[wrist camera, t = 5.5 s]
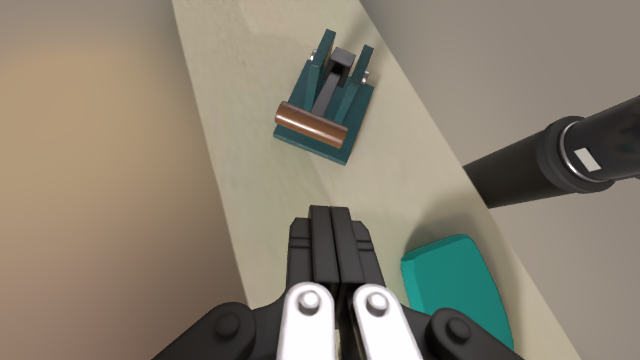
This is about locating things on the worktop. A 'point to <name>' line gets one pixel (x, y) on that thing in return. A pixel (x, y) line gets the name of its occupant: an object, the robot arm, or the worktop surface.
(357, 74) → the teal lever stand
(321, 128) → the lever handle
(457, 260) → the spray bottle
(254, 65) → the worktop surface
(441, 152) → the worktop surface
